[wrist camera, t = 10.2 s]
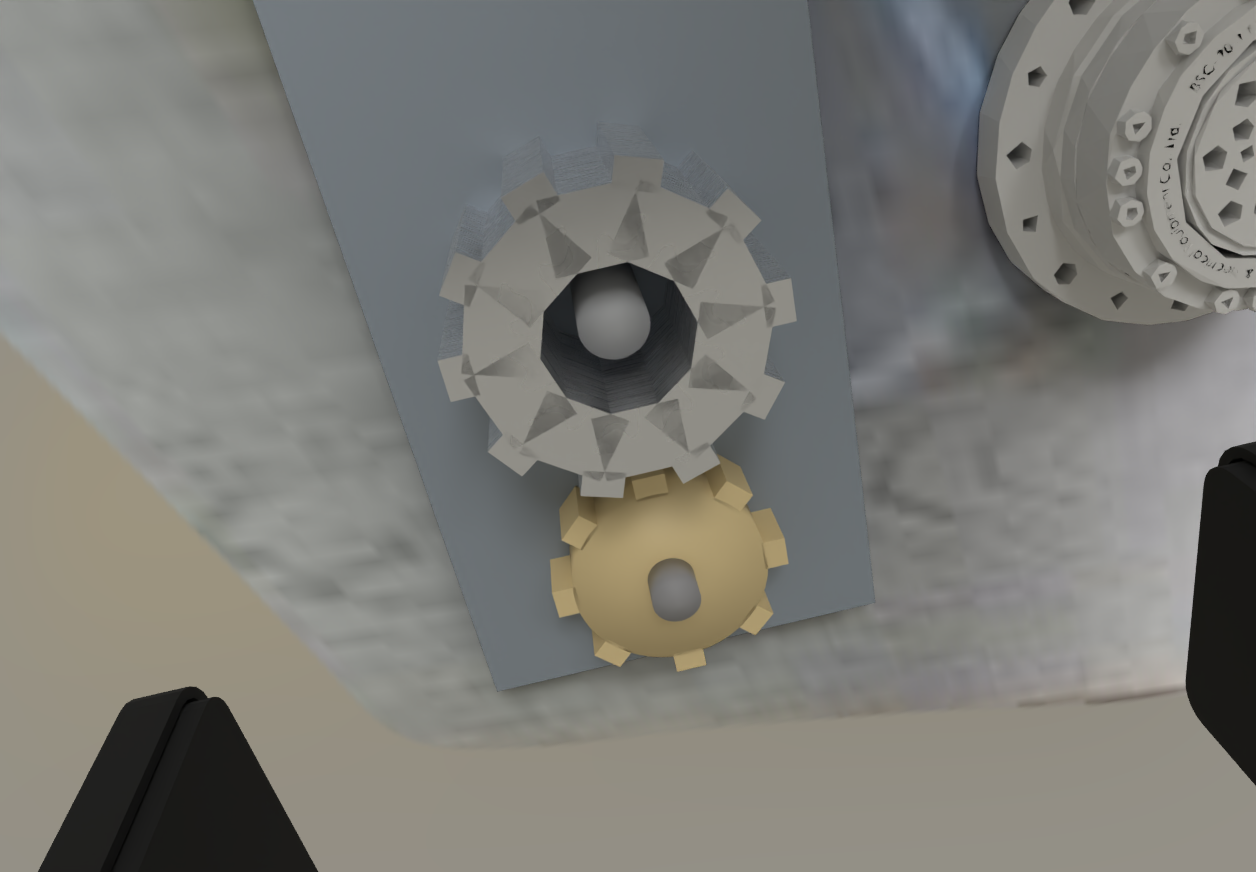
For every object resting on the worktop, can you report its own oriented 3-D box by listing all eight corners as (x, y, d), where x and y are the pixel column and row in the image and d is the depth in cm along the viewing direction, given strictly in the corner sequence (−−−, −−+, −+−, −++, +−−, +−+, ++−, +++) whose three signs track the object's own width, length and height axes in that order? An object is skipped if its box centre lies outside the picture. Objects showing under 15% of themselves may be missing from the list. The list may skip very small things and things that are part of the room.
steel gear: (410, 165, 21) (387, 208, 17) (726, 91, 21) (769, 119, 17) (495, 444, 24) (491, 528, 20) (769, 379, 24) (814, 453, 20)
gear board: (130, -404, 17) (16, -512, 13) (724, -543, 17) (787, -693, 13) (498, 657, 29) (495, 770, 25) (858, 572, 29) (914, 672, 25)
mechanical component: (1325, 272, 26) (1403, -150, 22) (1469, 327, 22) (1600, -175, 18) (968, 337, 26) (974, -79, 22) (1049, 403, 22) (1076, -87, 18)
